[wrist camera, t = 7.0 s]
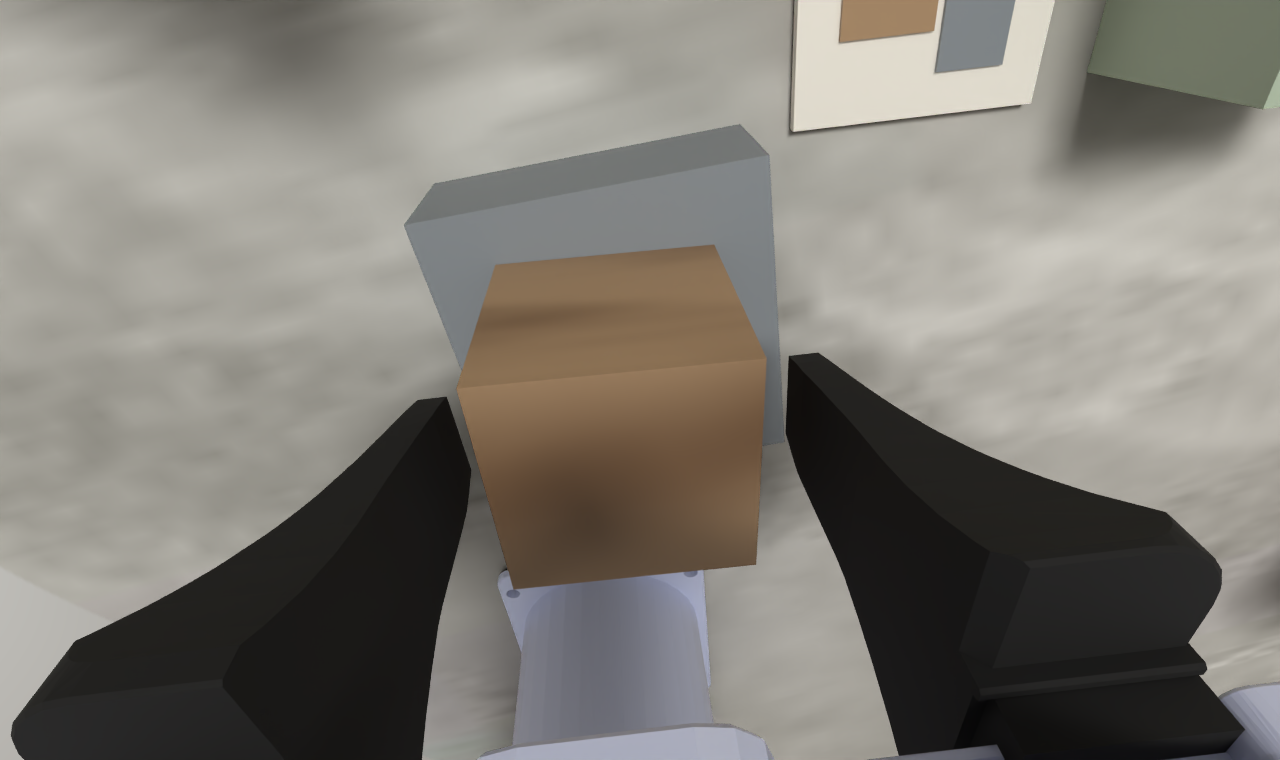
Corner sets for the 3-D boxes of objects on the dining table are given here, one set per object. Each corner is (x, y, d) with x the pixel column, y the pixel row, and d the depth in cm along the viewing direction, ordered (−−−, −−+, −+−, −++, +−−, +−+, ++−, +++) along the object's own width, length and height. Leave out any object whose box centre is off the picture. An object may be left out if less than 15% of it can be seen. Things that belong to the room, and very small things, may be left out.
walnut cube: (714, 418, 17) (756, 564, 13) (531, 436, 17) (513, 589, 13) (713, 244, 14) (766, 358, 10) (495, 264, 14) (456, 388, 10)
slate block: (756, 374, 20) (784, 442, 18) (520, 416, 21) (509, 489, 18) (736, 121, 16) (769, 154, 13) (437, 179, 16) (403, 225, 13)
